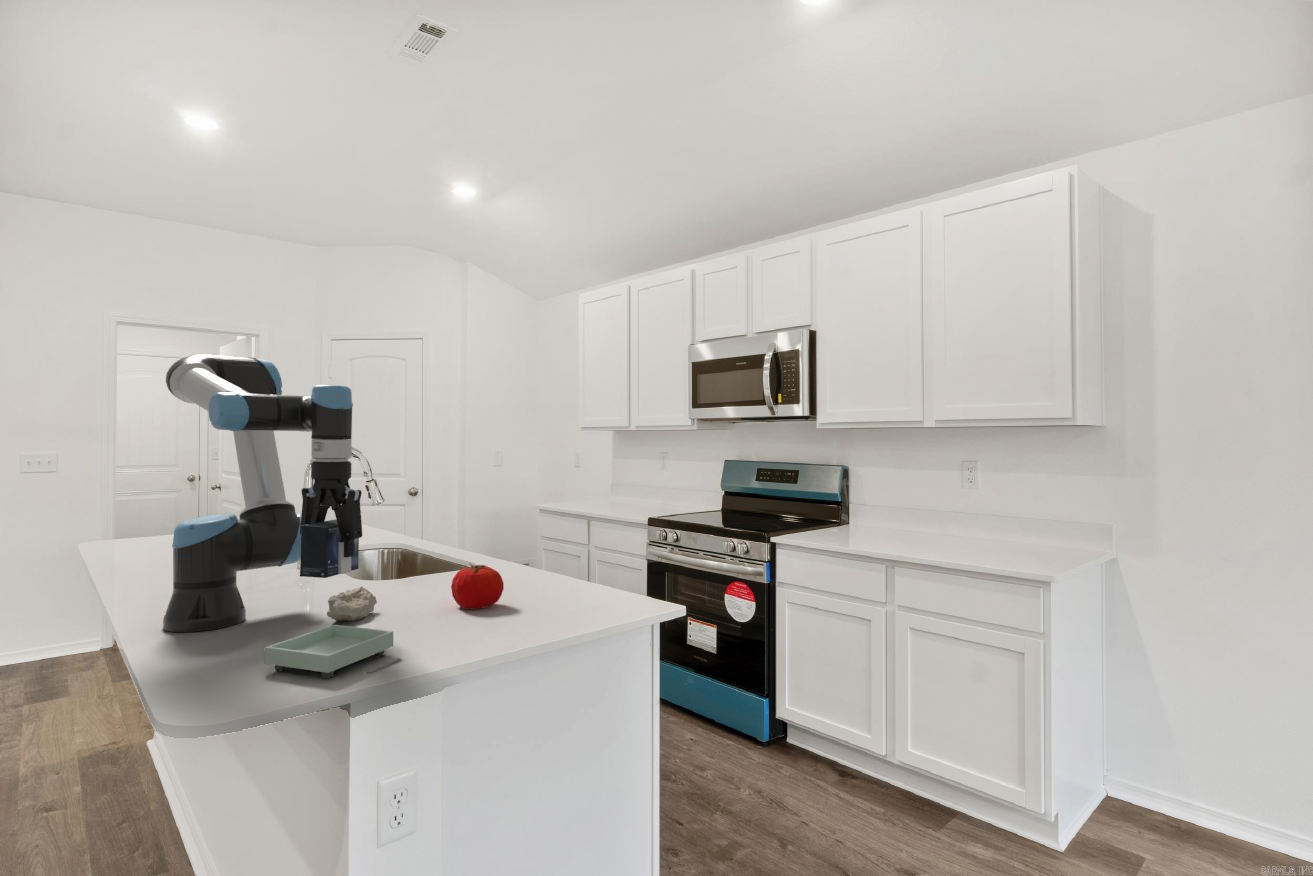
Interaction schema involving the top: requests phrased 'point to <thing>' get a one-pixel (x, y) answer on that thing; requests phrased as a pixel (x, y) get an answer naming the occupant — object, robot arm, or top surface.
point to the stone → (351, 604)
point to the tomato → (477, 587)
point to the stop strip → (384, 665)
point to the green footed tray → (328, 649)
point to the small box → (323, 549)
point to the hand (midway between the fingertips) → (330, 571)
